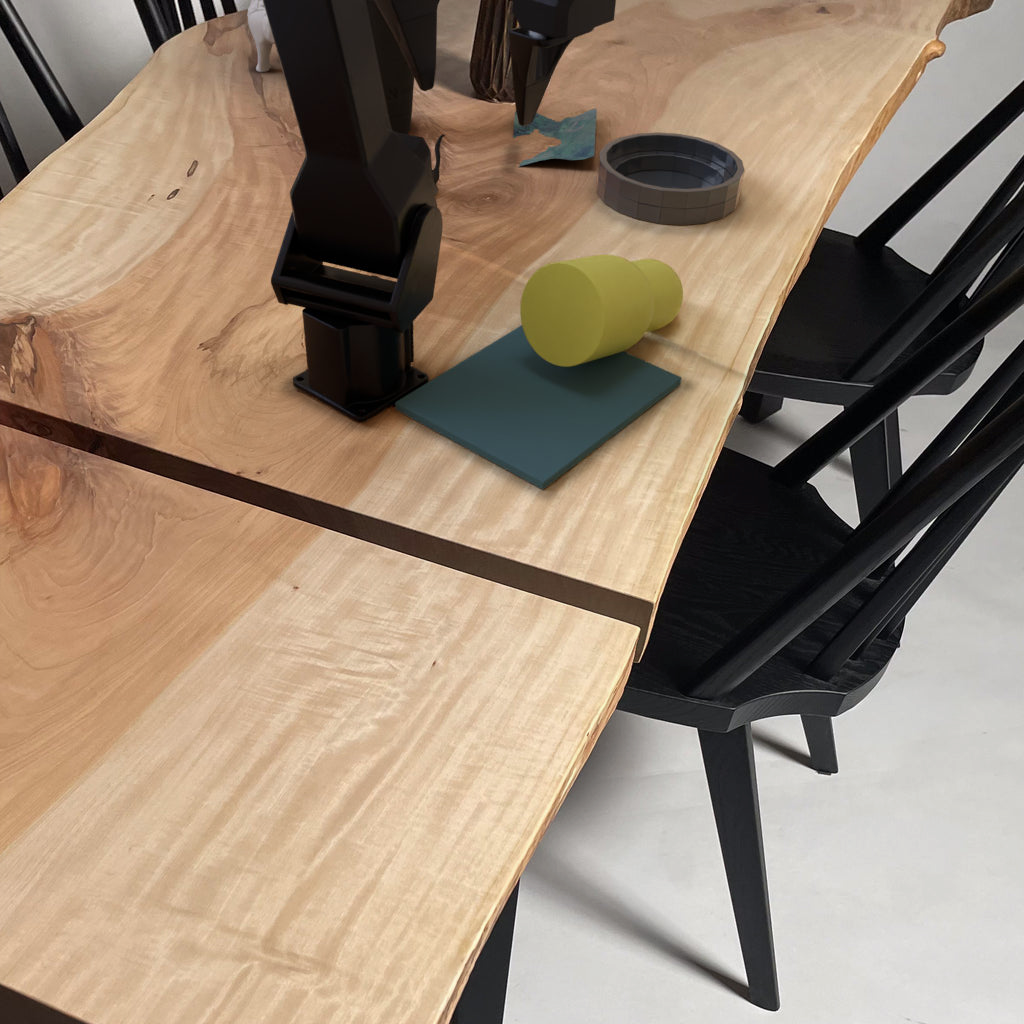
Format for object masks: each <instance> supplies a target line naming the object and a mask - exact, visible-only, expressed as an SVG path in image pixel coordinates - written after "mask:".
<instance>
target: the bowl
mask: <svg viewBox="0 0 1024 1024" xmlns="http://www.w3.org/2000/svg"><path fill="white" fill-rule="evenodd" d="M597 166H598V167H597V176H596V177H597V178H596V193H597V195H598V196H599V198H600V199H601V201H602V202H603V204H605V205H607V206H608V207H610V208H611V209H613V210H614V211H615V212H617V213H620V214H622V215H625V216H627V217H630V218H633V219H635V220H641V221H645V222H649V223H654V224H660V225H672V226H689V225H702V224H707V223H711V222H714V221H718V220H722V219H723V218H725V217H726V216H728V215H730V214H732V213H733V212H734V211H735V210H736V208H737V206H738V205H739V202H740V198H741V192H742V189H743V188H742V187H743V182H744V176H745V171H746V169H745V166H744V162H743V160H742V159H741V157H739V156H738V155H737V154H736V153H735V152H734V151H733V150H732V149H729V148H727V147H725V146H724V145H722V144H719V143H718V142H715V141H712V140H708V139H705V138H702V137H698V136H693V135H688V134H683V133H674V132H655V131H654V132H642V133H641V132H640V133H633V134H629V135H625V136H621V137H618V138H615V139H613V140H610V141H609V142H607V143H606V144H605V145H604V146H603V147H602V149H601V150H600V151H599V155H598V165H597Z"/></svg>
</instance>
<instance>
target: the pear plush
mask: <svg viewBox="0 0 1024 1024" xmlns="http://www.w3.org/2000/svg"><path fill="white" fill-rule="evenodd" d="M683 300H684V288H683V284H682V281H681V278H680V277H679V275H678V273H677V272H676V271H675V269H674V268H672V266H670V265H669V264H667V263H666V262H664V261H661V260H659V259H654V258H641V259H637V260H631V261H630V260H628V259H627V258H625V257H622V256H618V255H615V254H614V255H613V254H597V255H590V256H585V257H579V258H572V259H566V260H560V261H553V262H550V263H547V264H544V265H543V266H541V267H540V268H538V269H537V270H536V271H535V272H534V273H533V274H532V275H531V276H530V277H529V279H528V280H527V282H526V283H525V285H524V289H523V291H522V294H521V298H520V307H519V313H520V322H521V325H522V327H523V330H524V333H525V336H526V338H527V340H528V342H529V343H530V345H531V346H532V348H533V349H534V350H535V352H536V353H537V354H538V355H539V356H541V357H542V358H543V359H544V360H546V361H548V362H550V363H552V364H554V365H557V366H563V367H570V366H576V365H579V364H582V363H586V362H589V361H593V360H596V359H599V358H603V357H606V356H609V355H613V354H616V353H619V352H622V351H624V352H625V351H626V350H629V349H630V348H631V347H633V346H634V345H635V344H637V343H638V342H639V341H640V340H642V338H643V337H644V335H645V334H646V333H650V332H654V331H657V330H660V329H662V328H664V327H667V326H668V325H669V324H670V323H671V322H672V321H673V320H675V319H676V317H677V315H678V314H679V313H680V310H681V308H682V305H683Z"/></svg>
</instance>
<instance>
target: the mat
mask: <svg viewBox="0 0 1024 1024" xmlns="http://www.w3.org/2000/svg"><path fill="white" fill-rule="evenodd" d="M681 382H682V376H679V375H677V374H675V373H673V372H671V371H668V370H666V369H664V368H662V367H659V366H658V365H655V364H652V363H651V362H648V361H647V360H644V359H643V358H639V357H637V356H636V355H633V354H630V353H629V352H626V351H625V350H624V351H622V352H619V353H616V354H613V355H609V356H606V357H603V358H599V359H596V360H593V361H589V362H586V363H582V364H579V365H576V366H570V367H563V366H557V365H554V364H552V363H550V362H548V361H546V360H544V359H543V358H542V357H541V356H539V355H538V354H537V353H536V352H535V350H534V349H533V348H532V346H531V345H530V343H529V342H528V340H527V338H526V336H525V333H524V330H523V327H522V324H521V325H519V326H518V327H516V328H515V329H513V330H511V331H510V332H508V333H507V334H504V335H503V336H502V337H500V338H498V339H496V340H495V341H493V342H492V343H489V344H488V345H487V346H485V347H483V348H482V349H480V350H479V351H477V352H475V353H474V354H472V355H470V356H469V357H467V358H466V359H464V360H462V361H461V362H459V363H457V364H456V365H454V366H452V367H450V368H449V369H447V370H446V371H444V372H443V373H441V374H439V375H437V376H436V377H434V378H432V379H431V380H429V382H428V383H426V384H424V385H423V386H421V387H420V388H418V389H416V390H415V391H413V392H411V393H410V394H408V395H406V396H405V397H403V398H401V399H400V400H398V401H397V402H395V404H394V408H395V410H396V411H397V412H399V413H400V414H403V415H405V416H407V417H408V418H410V419H412V420H414V421H416V422H418V423H419V424H421V425H422V426H424V427H427V428H428V429H430V430H432V431H434V432H436V433H438V434H440V435H441V436H443V437H445V438H447V439H449V440H451V441H452V442H454V443H455V444H458V445H459V446H461V447H463V448H466V449H467V450H469V451H471V452H473V453H475V454H476V455H478V456H480V457H482V458H484V459H486V460H487V461H489V462H491V463H492V464H495V465H497V466H499V467H500V468H502V469H504V470H506V471H507V472H510V473H511V474H513V475H515V476H517V477H518V478H520V479H523V480H524V481H526V482H528V483H529V484H532V485H533V486H535V487H537V488H539V489H541V490H545V489H546V488H547V487H549V486H550V485H551V484H553V483H554V482H555V481H557V480H558V479H559V478H560V477H562V476H563V475H564V474H566V473H567V472H568V471H569V470H570V469H572V468H573V467H575V466H576V465H577V464H579V463H580V462H581V461H582V460H584V459H585V458H586V457H588V456H589V455H590V454H592V453H593V452H595V450H597V449H598V448H599V447H601V446H602V445H603V444H605V443H606V442H608V441H609V440H610V439H611V438H612V437H614V436H615V435H616V434H618V433H619V432H620V431H621V430H623V429H624V428H626V427H627V426H629V425H630V424H631V423H632V422H633V421H635V420H636V419H637V418H638V417H640V416H641V415H642V414H644V413H645V412H646V411H647V410H649V409H650V408H652V407H653V406H654V405H655V404H657V403H658V402H659V401H661V400H662V399H663V398H664V397H666V396H667V395H669V394H670V393H672V391H674V390H675V389H677V388H678V387H679V386H680V385H681V384H682V383H681Z"/></svg>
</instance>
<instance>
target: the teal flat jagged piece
mask: <svg viewBox="0 0 1024 1024" xmlns="http://www.w3.org/2000/svg"><path fill="white" fill-rule="evenodd" d="M597 111H598V109H597V108H592V109H589V110H587V111H584V112H583V113H580V114H577V115H575V116H571V117H570V116H569V117H565V118H563V119H562V120H560V121H556V120H555V119H552V118H549V117H547V116H545V115H542V114H540V113H538V112H537V113H536V115H535V118H534V120H533V122H532V123H531V124H529V125H526V126H521V125H519V122H518V117H517V112H516V110H515V111H514V116H513V132H512V133H513V134H512V136H513V137H512V138H513V139H515V138H517V137H523V136H529V135H531V134H533V133H534V131H535V130H538V134H540V135H541V136H544V137H546V138H554V139H556V140H560V143H559V144H558V145H554V146H548V147H547V149H546V150H544V151H541V152H539V153H538V154H536V155H534V156H533V157H531V158H528V159H524V160H522V161H521V162H520V163H519V165H518V168H519V167H520V168H521V167H522V166H525V165H529V164H533V163H537V162H539V161H546V160H551V159H552V160H553V159H557V160H559V159H560V160H567V161H580V160H582V161H583V160H586V159H591V158H593V157H595V148H596V147H595V145H596V133H597V132H596V131H597V129H596V128H597Z"/></svg>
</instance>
